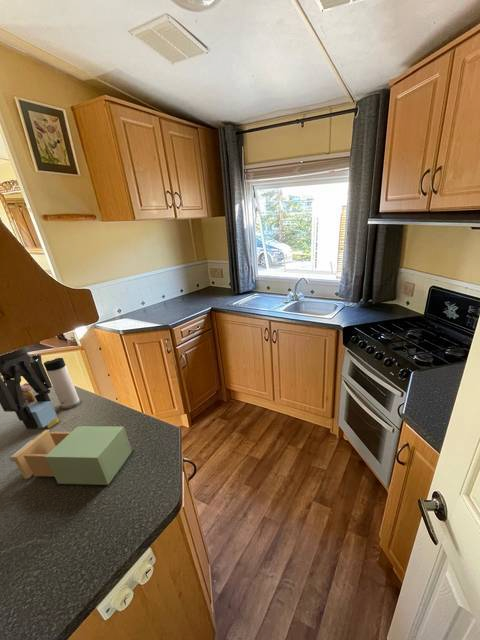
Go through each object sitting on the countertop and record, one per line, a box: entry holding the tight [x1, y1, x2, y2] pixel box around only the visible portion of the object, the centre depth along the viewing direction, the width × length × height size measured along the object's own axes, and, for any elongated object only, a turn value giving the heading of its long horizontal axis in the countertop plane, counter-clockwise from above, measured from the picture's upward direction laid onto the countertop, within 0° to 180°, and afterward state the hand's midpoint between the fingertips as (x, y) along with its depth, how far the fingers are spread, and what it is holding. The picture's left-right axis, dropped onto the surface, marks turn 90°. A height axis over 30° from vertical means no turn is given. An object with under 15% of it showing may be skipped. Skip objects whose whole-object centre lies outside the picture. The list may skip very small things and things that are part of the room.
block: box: [22, 401, 58, 429], centre depth 77 cm, size 5×5×5 cm
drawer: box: [8, 429, 72, 480], centre depth 83 cm, size 18×11×8 cm, turn 86°
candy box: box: [20, 382, 60, 429], centre depth 102 cm, size 9×4×15 cm, turn 69°
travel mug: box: [42, 357, 81, 409], centre depth 112 cm, size 6×7×20 cm
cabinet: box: [45, 425, 133, 486], centre depth 82 cm, size 15×13×10 cm
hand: (41, 421), depth 78 cm, fingers closed on block, 5 cm apart
